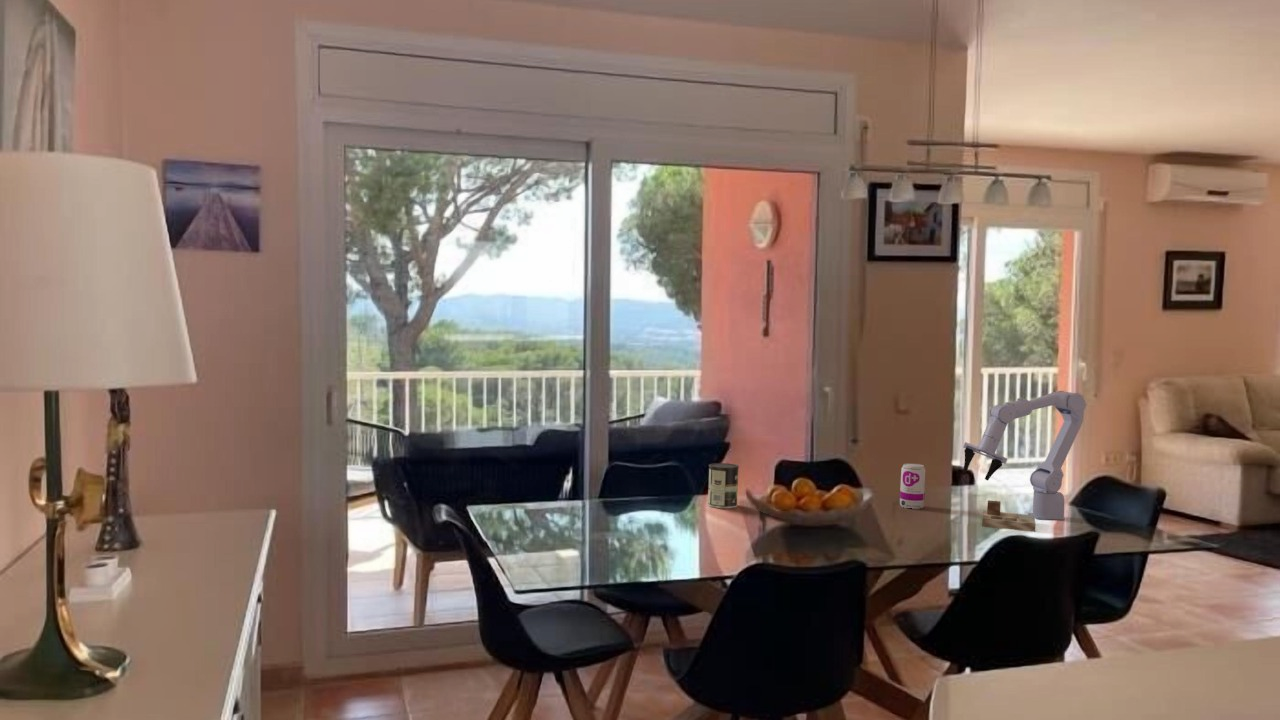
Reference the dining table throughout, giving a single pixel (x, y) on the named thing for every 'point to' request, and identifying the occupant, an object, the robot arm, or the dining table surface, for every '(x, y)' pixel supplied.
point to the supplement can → (912, 486)
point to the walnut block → (993, 507)
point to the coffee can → (723, 485)
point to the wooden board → (1007, 521)
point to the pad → (1026, 517)
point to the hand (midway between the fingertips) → (975, 475)
